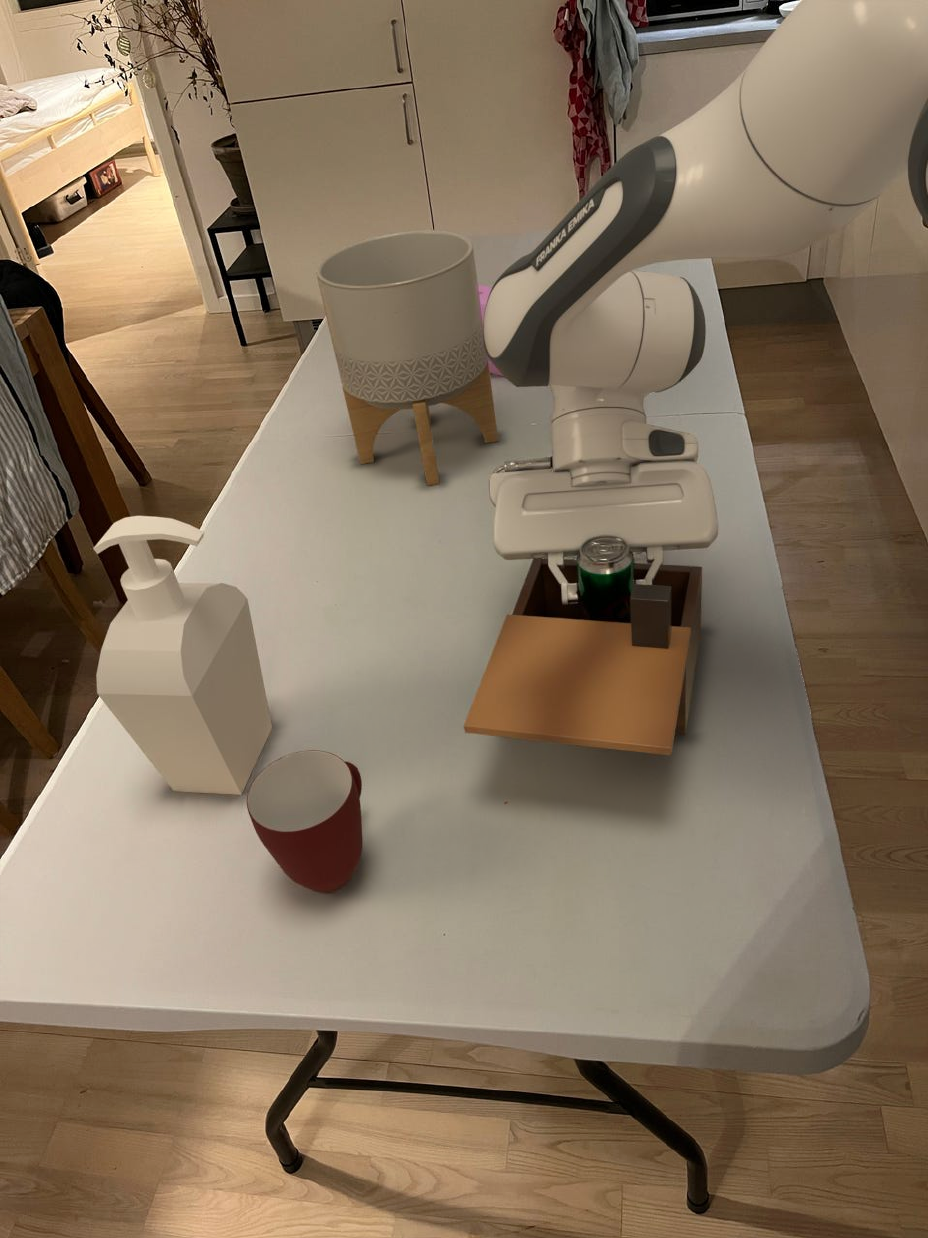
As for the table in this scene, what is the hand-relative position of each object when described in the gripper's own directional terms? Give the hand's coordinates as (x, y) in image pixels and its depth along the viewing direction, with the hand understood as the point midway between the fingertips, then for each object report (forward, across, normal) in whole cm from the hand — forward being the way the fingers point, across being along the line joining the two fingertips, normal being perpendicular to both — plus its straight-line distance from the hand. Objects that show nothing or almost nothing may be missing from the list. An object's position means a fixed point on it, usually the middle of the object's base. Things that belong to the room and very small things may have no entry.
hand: (607, 602), depth 88 cm
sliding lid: (+7, -2, -9) cm, 12 cm away
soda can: (+4, 0, +5) cm, 7 cm away
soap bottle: (+13, -35, -2) cm, 37 cm away
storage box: (+6, 0, +4) cm, 8 cm away
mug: (+21, -23, -10) cm, 33 cm away
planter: (-26, -23, +37) cm, 51 cm away
